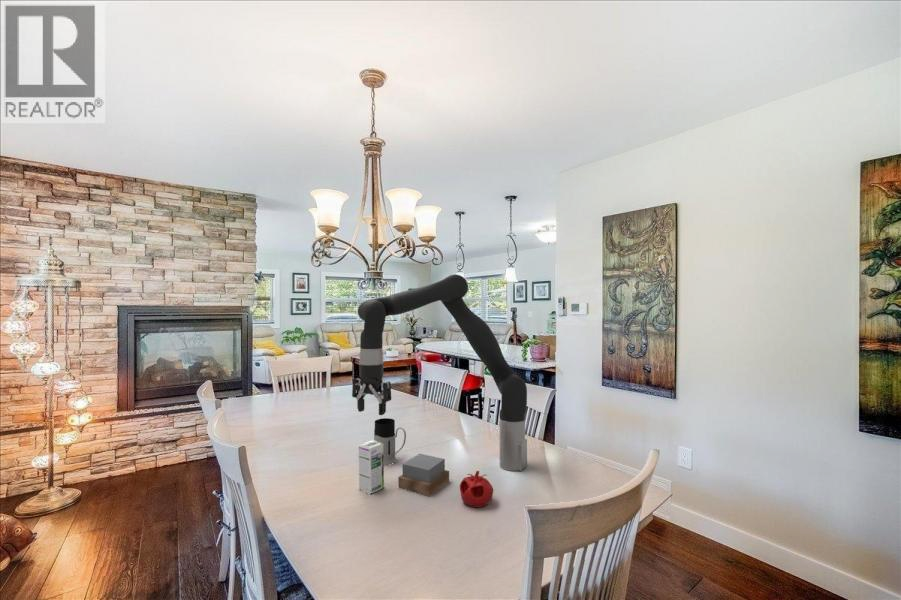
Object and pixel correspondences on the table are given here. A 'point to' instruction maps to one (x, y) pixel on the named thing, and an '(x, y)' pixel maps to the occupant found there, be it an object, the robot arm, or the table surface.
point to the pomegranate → (476, 490)
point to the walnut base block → (424, 484)
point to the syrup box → (371, 466)
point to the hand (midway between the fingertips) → (371, 412)
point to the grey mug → (387, 438)
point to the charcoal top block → (423, 467)
